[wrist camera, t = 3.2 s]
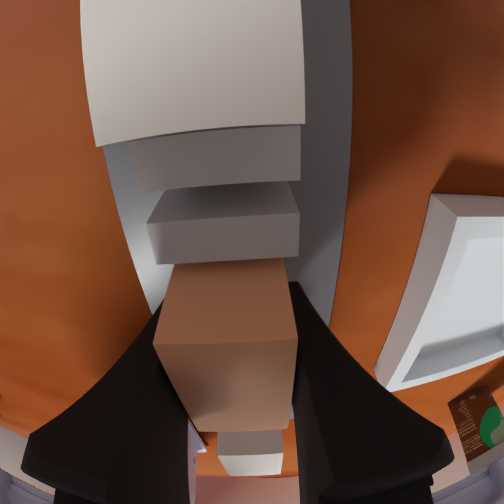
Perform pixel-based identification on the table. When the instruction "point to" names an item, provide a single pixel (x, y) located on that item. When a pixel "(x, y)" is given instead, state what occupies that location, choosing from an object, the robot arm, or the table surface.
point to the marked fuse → (230, 343)
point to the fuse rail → (249, 180)
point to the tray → (450, 295)
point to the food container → (479, 427)
